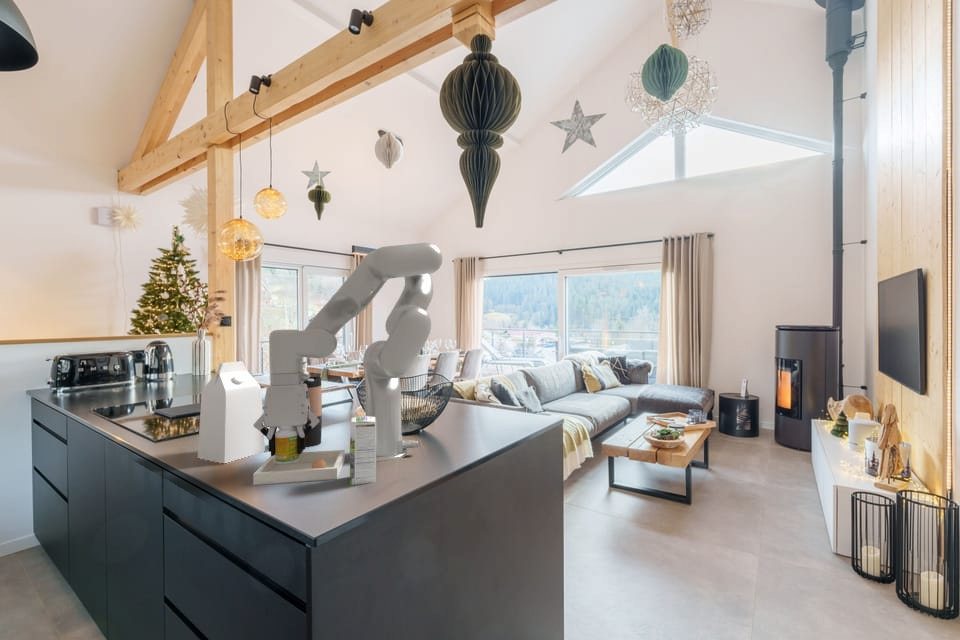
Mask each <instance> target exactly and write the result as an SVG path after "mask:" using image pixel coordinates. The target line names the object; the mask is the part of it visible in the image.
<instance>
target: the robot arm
mask: <svg viewBox="0 0 960 640" xmlns="http://www.w3.org/2000/svg"><path fill="white" fill-rule="evenodd" d="M442 264H443V253H442V251H441V249H439V247H438V246H436V245H435V244H433V243H430V242H419V243H407V244H398V245H388V246H381V247H379V248H377V249H374V250H371V251H370V252H369V253H367V254H366V255H365V257H363V259H362V260H361V261H360V262H359V264H358V265H357V266H356V268H355V269H354V270H353V271H352V272H351V274H350V275H349V277H347V279H346V280H345V281H344V283H343V284H342V285H341V286H340V287H339V288H338V289H337V291H336V292H334V294H333V295H332V296H331V298H330V299H329V300H328V301H327V302H326V303H325V304H324V306H323V307H322V308H321V309H320V310H319V311H318V313H316V315H315V316H314V317H313V319H312V320H311V321H310V322H309V323H308V325H307V326H306V327H305V328H304V329H303V330H299V329H275V330H272V331H271V332H270V333H269V337H268V339H269V340H268V343H269V344H268V350H269V352H268V353H269V356H268V357H269V358H268V359H269V385H267V386H266V388H265V389H266V390H265V394H264V403H263V414H262V416H261V417H260V418H259V419H258V420H257V421H256V422H255V423H254V425H253V426H254V427H255V428H256V429H258V430H259V431H261V433H262V434H263V435H264V437H265V438H266V440H268V452H270V456H274V455H275V433H276V432H277V431H278V427H281V426H284V425H286V426H291V427H293V426H296V428H297V431H298V433H299V437H298V439H297V453H298V454H301V453H302V452H304V450H306V447H305V435H306V434H307V433H308V432H309V431H310V430H311V429H312V428H314V427H315V426H316V425H317V424H318V423H319V419H318V418H317V417H316V416H315V415H314V414H313V413H312V412H311V411H310V402H309V393H308V388H307V384H303V382H304V380H309V377H310V374H309V373H308V374H306V373H305V371H304V358H313V359H324V358H327V357H330V356H331V355H333V353H334V352H335V351H336V350H337V346H338V339H337V336H336V335H337V334H338V333H339V332H340V330H341V329H342V328H343V327H344V326H346V325H347V323H349V322H350V321H351V320H353V319H354V318H355V317H358V316H359V315H360V314H362V312H364V311H365V310H366V309H367V308H368V306H369V305H370V303H372V301H373V300H374V298H375V297H376V295H378V293H379V292H380V290H381V289H382V288H383V287H384V285H385V283H387V282H388V280H391V279H396V278H397V279H398V278H404V287H403V289H402V292H401V294H400V296H399V298H398V300H397V302H396V303H395V304H394V306H393V308H392V310H391V312H390V313H389V315H388V316H387V319H386V321H385V326H384V327H385V331H386V333H387V335H388V338H387V339H386V340H377V341H374V342H373V343H372V342H371V344H369V345H368V347H367V348H366V349H365V351H364V354H363V359H362V363H363V364H362V365H363V375H364V381H365V382H364V383H365V416H370V417H375V418H376V462H386V461H392V460H397V459H400V458H405V457H406V456H408V449H418V448H419V440H414V439H408V440H406V439H404V438H403V437H404V436H403V434H402V383H401V378H402V377H404V376H405V375H407V374H408V373H409V371H411V369H412V368H413V366H414V364H415V363H416V361H417V360H418V357H419V355H420V353H421V352H422V350H423V347H424V346H425V344H426V342H427V340H428V338H429V335H430V333H431V330H432V321H431V317H430V314H429V313H428V311H427V310H428V308H429V306H430V304H431V302H432V299H433V295H434V284H433V277H432V274H434V273H436V272H437V271H438V270H439V269H440V268H441V266H442ZM309 420H311V423H310V424H309V425H308V426H307V427H306V428H305V424H306V423H307V421H309ZM262 423H263V424H262Z"/></svg>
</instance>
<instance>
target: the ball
mask: <svg viewBox="0 0 960 640" xmlns="http://www.w3.org/2000/svg"><path fill="white" fill-rule="evenodd" d="M325 467H326V463H325V461H324V460H323V459H316V460H315V461H314V462H313V463H312V469H314V468H325Z"/></svg>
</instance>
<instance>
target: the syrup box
mask: <svg viewBox="0 0 960 640" xmlns="http://www.w3.org/2000/svg"><path fill="white" fill-rule="evenodd" d="M349 440H350V441H349V486H356V485H364V484H372V483H377V461H376V418H375V417H370V416H366V415H365V416H364V415H363V416H354V417H351V419H350V435H349Z"/></svg>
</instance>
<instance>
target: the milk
mask: <svg viewBox="0 0 960 640" xmlns="http://www.w3.org/2000/svg"><path fill="white" fill-rule="evenodd" d="M262 395H263V393H262V388H261V385H260V384H259V383H258V381H257V380H256V379H255V378H254V376H252V374H251V373H250V372H249V371H248V370H247V368H246V366H245V364H244V361H240V360H239V361H230V362H229V361H228V362H220V363H219V364H218V367H217V370H216V373H215V374H214V375H213V377H212V378H211V379H210V380H209V381H208V382H207V383H206V384H205V386H204V387H203V389H202V392H201V399H200V412H199V413H200V415H199V416H200V417H199V428H198V429H199V433H198V448H197V459H198V458H200V459H199V460H202V459H205V460H204V461H207V460H210V461H209V462H212V461H215V462H214V463H216V462H219V463H218V464H221V463H227V464H229V463H228V462H230V463H232V462H231V461H233V462H235V461H234V460H237V459H240V460H242V459H241V458H243V459H245V458H244V457H246V458H249V457H248V456H250V457H252V456H251V455H253V456H255V455H257V454H262V453H265V452H266V448H265V447H266V446H265V443H266V442H265V435H263V434H262V433H261V431H259V430H258V429H256V428H255V427H254V426H253V425H254V423H255V422H256V421H257V420H258V419H259V418H260V417H261V416H262V414H263V411H264V409H263V396H262ZM262 424H263V425H264V423H262ZM264 451H265V452H264ZM261 452H262V453H261ZM237 461H238V460H237Z"/></svg>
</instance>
